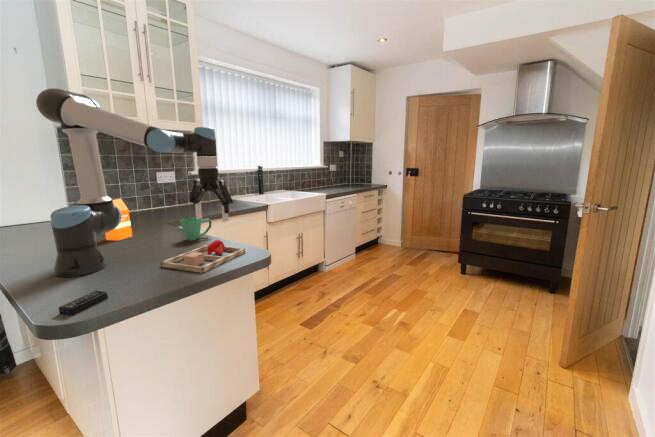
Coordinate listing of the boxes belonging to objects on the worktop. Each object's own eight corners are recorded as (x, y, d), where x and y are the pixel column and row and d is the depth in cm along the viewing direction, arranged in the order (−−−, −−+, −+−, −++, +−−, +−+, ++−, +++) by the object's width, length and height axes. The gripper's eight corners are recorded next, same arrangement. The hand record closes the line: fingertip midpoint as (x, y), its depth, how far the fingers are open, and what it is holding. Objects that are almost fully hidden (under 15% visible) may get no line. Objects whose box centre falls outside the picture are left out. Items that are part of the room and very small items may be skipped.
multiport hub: (108, 298, 94) (107, 291, 94) (72, 317, 84) (70, 309, 83) (96, 297, 95) (95, 290, 95) (59, 315, 85) (57, 307, 84)
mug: (184, 242, 152) (182, 222, 150) (180, 238, 160) (178, 219, 158) (215, 237, 161) (213, 218, 159) (210, 234, 169) (208, 215, 167)
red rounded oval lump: (220, 243, 138) (208, 238, 134) (227, 241, 134) (214, 236, 130) (215, 261, 135) (202, 256, 131) (222, 259, 131) (208, 254, 127)
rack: (202, 272, 112) (201, 268, 112) (161, 266, 120) (160, 262, 119) (245, 252, 135) (245, 248, 135) (208, 248, 143) (207, 244, 142)
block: (195, 267, 119) (194, 256, 118) (184, 266, 120) (183, 255, 120) (204, 262, 124) (203, 253, 123) (193, 261, 125) (192, 252, 124)
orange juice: (105, 239, 161) (99, 201, 158) (120, 235, 170) (115, 198, 166) (118, 240, 160) (112, 201, 156) (132, 236, 168) (127, 198, 164)
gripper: (239, 167, 125) (243, 220, 129) (190, 167, 134) (195, 216, 138) (227, 168, 118) (231, 224, 122) (176, 167, 127) (181, 219, 131)
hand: (212, 220), depth 130 cm, fingers open, 13 cm apart
